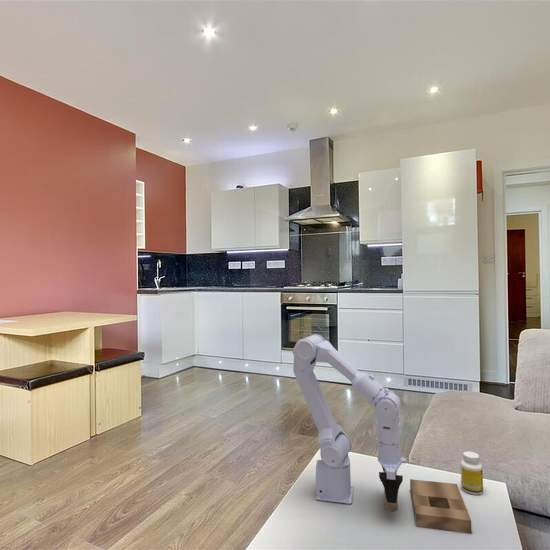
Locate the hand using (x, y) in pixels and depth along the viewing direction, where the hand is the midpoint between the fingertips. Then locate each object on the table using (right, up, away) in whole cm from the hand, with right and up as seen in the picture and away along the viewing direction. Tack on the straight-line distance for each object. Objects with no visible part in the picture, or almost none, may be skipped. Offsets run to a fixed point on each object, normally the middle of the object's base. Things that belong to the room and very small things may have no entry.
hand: (391, 493), depth 98 cm
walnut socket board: (+12, -3, -1) cm, 12 cm away
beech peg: (0, -4, 0) cm, 4 cm away
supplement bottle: (+25, -3, +7) cm, 26 cm away
